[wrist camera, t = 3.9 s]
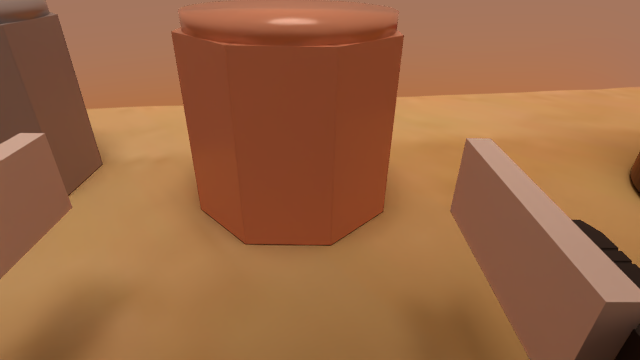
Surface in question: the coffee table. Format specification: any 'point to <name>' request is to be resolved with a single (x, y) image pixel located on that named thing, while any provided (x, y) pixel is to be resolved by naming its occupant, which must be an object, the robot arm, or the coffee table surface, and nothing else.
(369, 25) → the octagonal lidded canister
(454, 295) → the coffee table surface
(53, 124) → the brown octagonal jar
